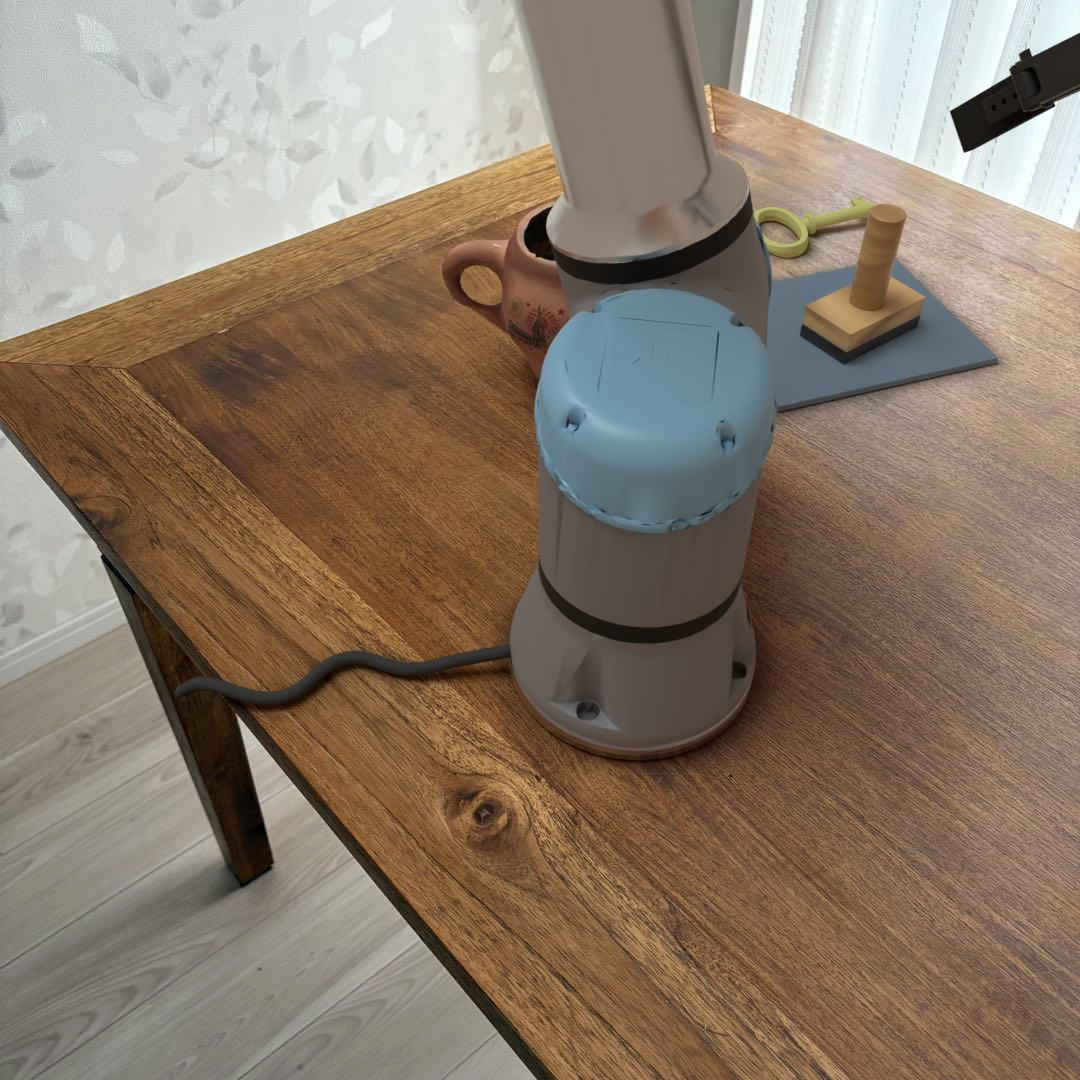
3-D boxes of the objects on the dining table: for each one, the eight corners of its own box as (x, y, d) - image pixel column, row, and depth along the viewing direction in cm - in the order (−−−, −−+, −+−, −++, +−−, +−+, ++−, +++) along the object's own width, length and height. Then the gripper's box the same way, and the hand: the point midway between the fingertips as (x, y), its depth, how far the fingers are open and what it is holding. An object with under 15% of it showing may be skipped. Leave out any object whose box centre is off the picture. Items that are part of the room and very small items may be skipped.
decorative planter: (437, 422, 86) (424, 265, 76) (456, 330, 94) (447, 178, 84) (696, 434, 85) (717, 277, 75) (692, 340, 93) (711, 187, 83)
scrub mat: (777, 412, 87) (778, 406, 86) (693, 302, 97) (694, 296, 97) (996, 363, 91) (998, 357, 91) (893, 263, 102) (895, 257, 101)
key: (877, 224, 107) (882, 203, 105) (782, 264, 102) (786, 243, 100) (823, 193, 111) (827, 173, 109) (730, 230, 106) (733, 210, 104)
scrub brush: (843, 364, 90) (872, 244, 82) (799, 335, 93) (823, 216, 85) (917, 327, 94) (952, 208, 86) (872, 299, 97) (902, 182, 89)
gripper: (1248, 47, 47) (913, 212, 67) (1561, -54, 56) (1183, 118, 76) (1194, -125, 47) (871, 92, 66) (1519, -200, 56) (1149, 11, 75)
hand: (1037, 106), depth 71 cm, fingers open, 13 cm apart
